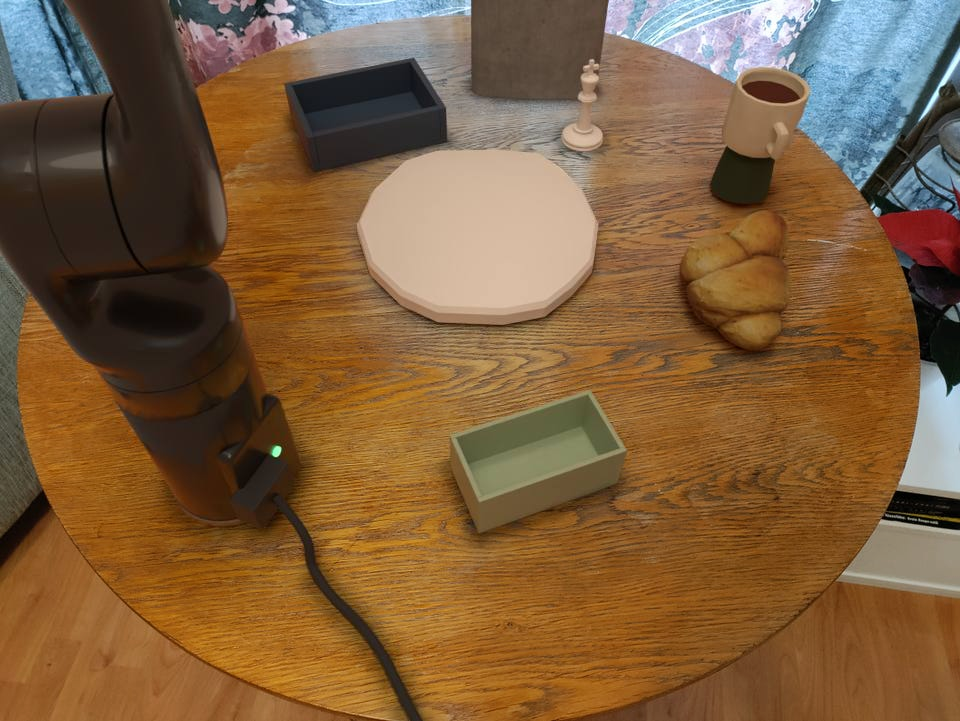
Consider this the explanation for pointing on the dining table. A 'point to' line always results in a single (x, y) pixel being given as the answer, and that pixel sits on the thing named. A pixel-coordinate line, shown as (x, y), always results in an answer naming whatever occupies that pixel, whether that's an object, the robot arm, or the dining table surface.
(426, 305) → the decorative plate
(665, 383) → the dining table surface
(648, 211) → the dining table surface
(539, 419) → the small bin
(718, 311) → the bread roll
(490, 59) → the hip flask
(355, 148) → the big bin
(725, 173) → the character mug
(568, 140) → the chess piece
